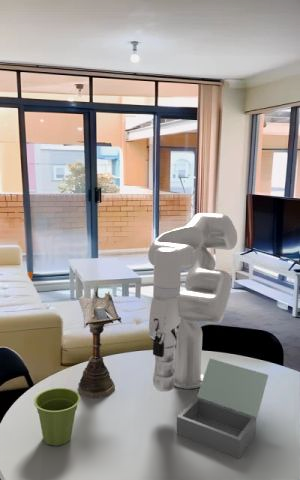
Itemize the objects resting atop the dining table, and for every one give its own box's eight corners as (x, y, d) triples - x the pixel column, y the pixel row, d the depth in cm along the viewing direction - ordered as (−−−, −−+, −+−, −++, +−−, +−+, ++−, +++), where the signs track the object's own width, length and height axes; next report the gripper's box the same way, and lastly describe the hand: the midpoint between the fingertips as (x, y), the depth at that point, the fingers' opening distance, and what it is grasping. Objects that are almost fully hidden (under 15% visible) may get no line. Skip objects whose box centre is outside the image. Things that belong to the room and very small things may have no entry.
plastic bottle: (159, 396, 118) (161, 329, 115) (148, 385, 124) (150, 321, 121) (179, 391, 121) (181, 325, 118) (167, 381, 127) (169, 318, 124)
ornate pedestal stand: (127, 401, 130) (129, 292, 124) (86, 408, 125) (85, 296, 120) (113, 377, 145) (114, 279, 140) (76, 382, 141) (75, 281, 135)
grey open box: (176, 433, 114) (177, 416, 114) (196, 413, 124) (197, 397, 124) (238, 458, 105) (240, 440, 104) (255, 434, 115) (256, 417, 114)
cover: (209, 358, 128) (210, 359, 129) (197, 396, 123) (198, 397, 124) (267, 374, 119) (268, 375, 119) (256, 417, 114) (257, 417, 115)
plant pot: (58, 458, 103) (57, 416, 101) (25, 441, 109) (24, 402, 108) (89, 434, 113) (89, 395, 111) (57, 420, 119) (56, 383, 118)
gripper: (170, 283, 127) (168, 339, 130) (138, 296, 113) (136, 358, 115) (192, 287, 123) (190, 344, 126) (161, 301, 109) (159, 366, 111)
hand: (164, 351), depth 120 cm, fingers closed on plastic bottle, 6 cm apart
